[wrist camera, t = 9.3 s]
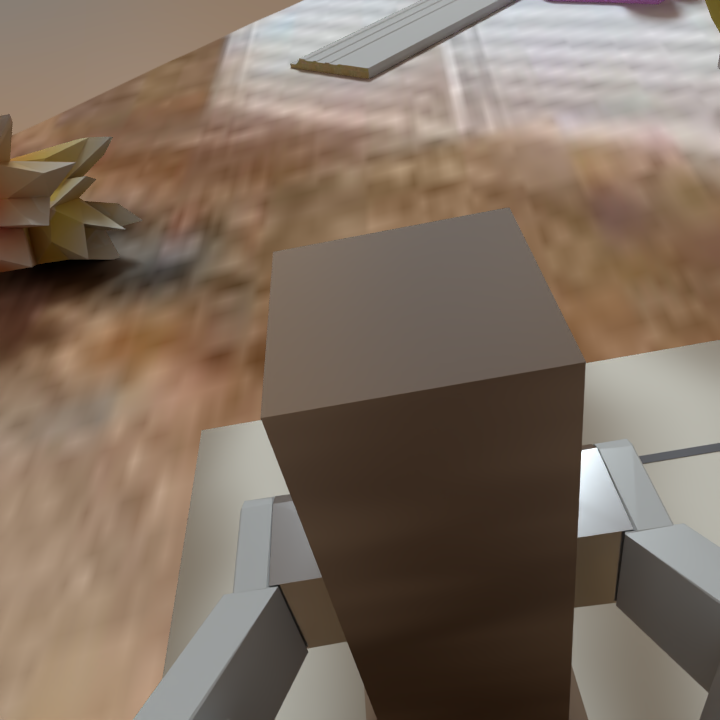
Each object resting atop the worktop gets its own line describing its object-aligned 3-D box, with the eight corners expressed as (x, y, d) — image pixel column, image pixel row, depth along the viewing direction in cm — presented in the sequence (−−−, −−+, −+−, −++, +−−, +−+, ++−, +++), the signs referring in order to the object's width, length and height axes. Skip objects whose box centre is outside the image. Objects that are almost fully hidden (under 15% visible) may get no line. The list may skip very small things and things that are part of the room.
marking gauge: (416, 991, 13) (169, 671, 5) (371, 502, 22) (261, 91, 14) (625, 967, 13) (781, 580, 4) (493, 482, 22) (458, 50, 13)
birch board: (161, 915, 16) (127, 894, 15) (218, 465, 27) (201, 430, 25) (1246, 775, 14) (1315, 738, 13) (844, 358, 25) (860, 314, 24)
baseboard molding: (282, 72, 66) (371, 86, 59) (275, 41, 64) (365, 51, 57) (476, -22, 80) (566, -20, 73) (474, -50, 79) (567, -51, 71)
